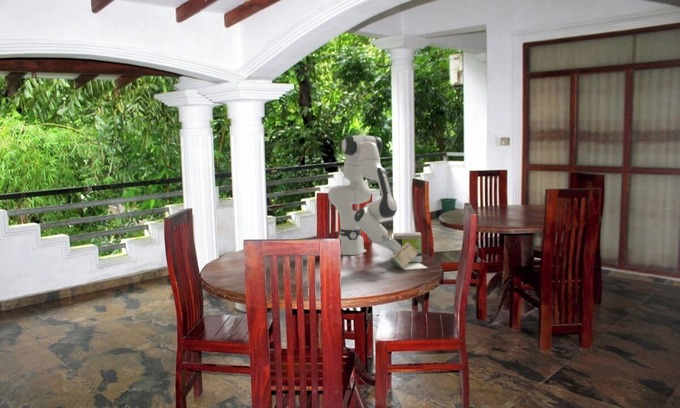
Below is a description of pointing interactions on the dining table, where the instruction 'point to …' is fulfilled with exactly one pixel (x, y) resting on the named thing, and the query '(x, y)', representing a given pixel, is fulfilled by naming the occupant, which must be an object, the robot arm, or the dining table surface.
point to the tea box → (412, 239)
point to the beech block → (404, 255)
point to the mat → (414, 266)
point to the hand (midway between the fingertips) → (395, 251)
